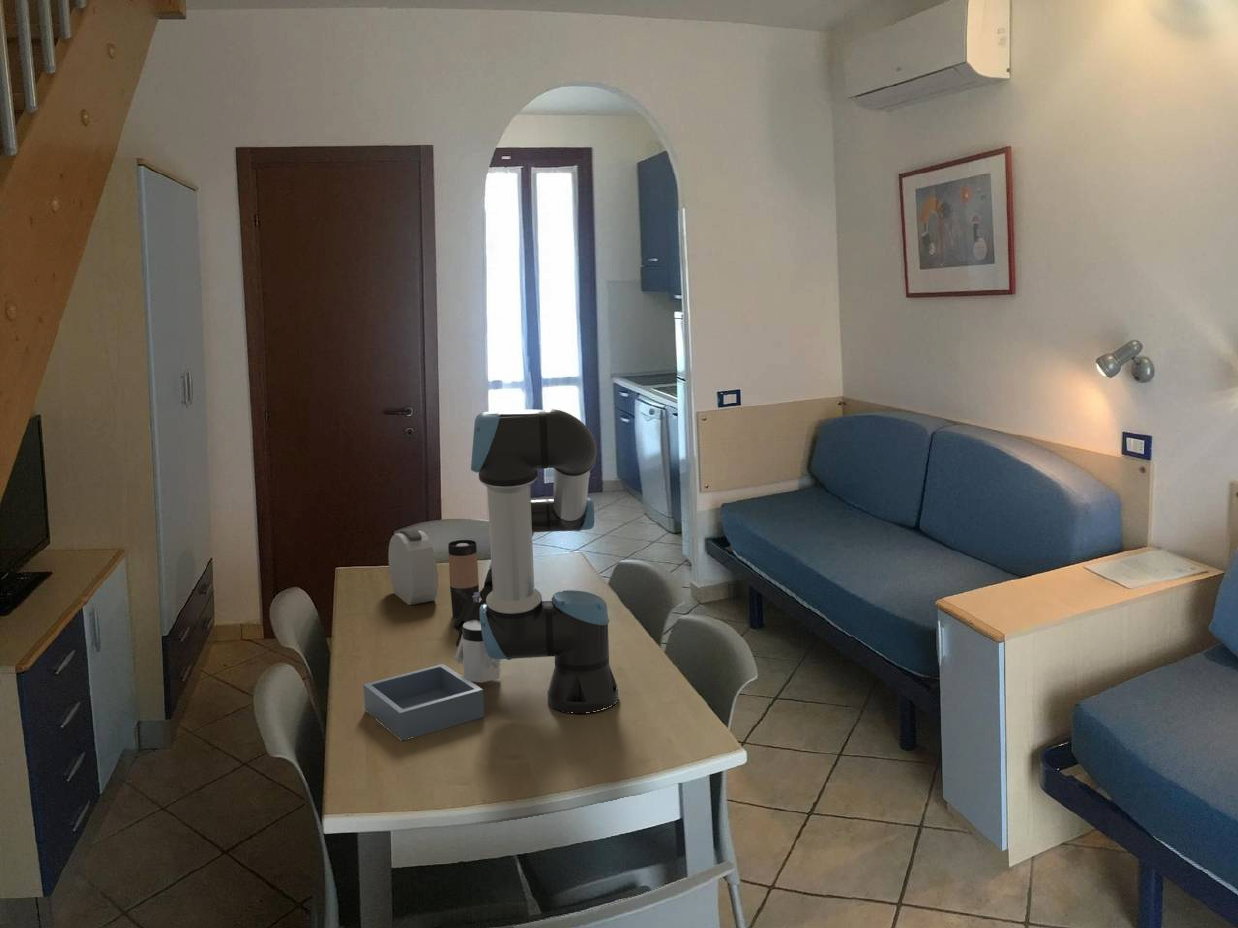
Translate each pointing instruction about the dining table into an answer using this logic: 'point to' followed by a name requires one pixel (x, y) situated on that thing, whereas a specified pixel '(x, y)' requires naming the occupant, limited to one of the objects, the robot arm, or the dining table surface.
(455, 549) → the travel mug
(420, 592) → the alarm clock
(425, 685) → the bin
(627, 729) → the dining table surface
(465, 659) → the jar
